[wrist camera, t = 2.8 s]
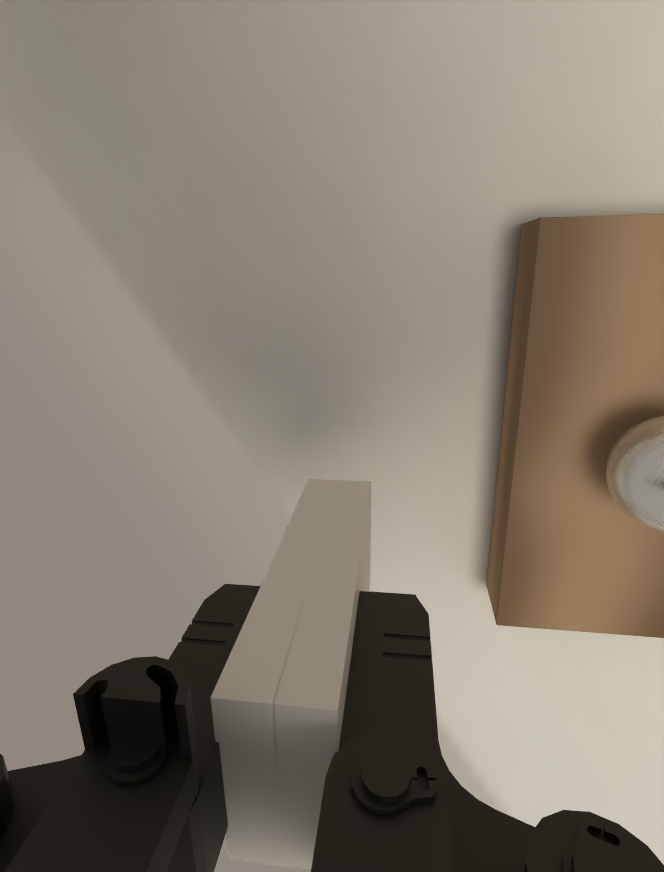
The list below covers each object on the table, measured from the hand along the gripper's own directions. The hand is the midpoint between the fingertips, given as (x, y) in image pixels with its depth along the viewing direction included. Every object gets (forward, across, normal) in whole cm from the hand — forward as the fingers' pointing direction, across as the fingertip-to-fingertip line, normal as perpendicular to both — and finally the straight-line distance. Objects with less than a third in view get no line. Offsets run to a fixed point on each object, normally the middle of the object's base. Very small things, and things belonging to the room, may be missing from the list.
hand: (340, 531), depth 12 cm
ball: (+4, +9, 0) cm, 10 cm away
